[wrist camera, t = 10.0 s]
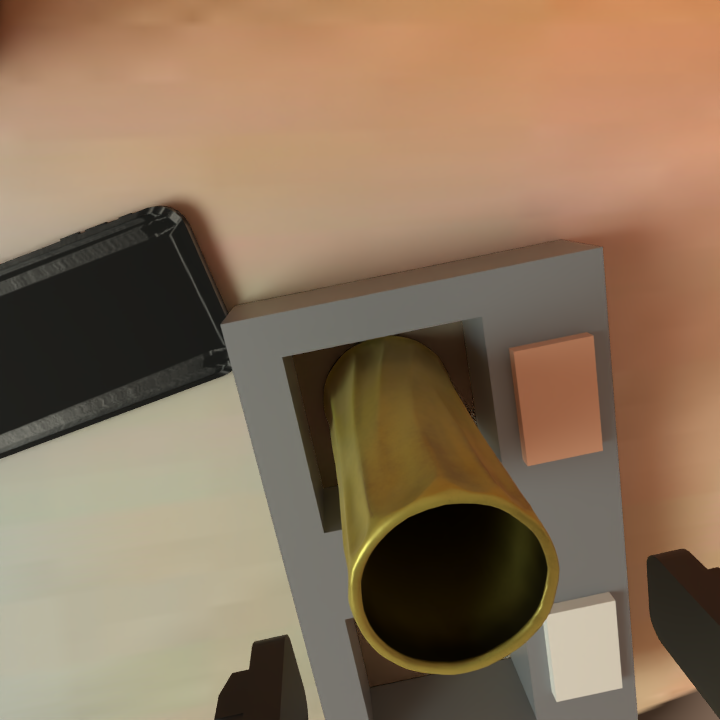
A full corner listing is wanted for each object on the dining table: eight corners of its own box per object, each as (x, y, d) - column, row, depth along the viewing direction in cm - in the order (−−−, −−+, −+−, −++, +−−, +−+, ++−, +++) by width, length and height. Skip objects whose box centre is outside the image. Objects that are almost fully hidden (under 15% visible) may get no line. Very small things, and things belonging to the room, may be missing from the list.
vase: (476, 386, 28) (628, 566, 14) (395, 479, 29) (464, 729, 15) (379, 308, 27) (444, 424, 13) (297, 408, 28) (277, 613, 14)
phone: (247, 366, 26) (-59, 481, 27) (250, 360, 27) (-44, 470, 28) (172, 195, 24) (-160, 322, 25) (178, 195, 25) (-140, 317, 26)
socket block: (234, 305, 26) (217, 327, 22) (561, 239, 26) (609, 248, 22) (340, 719, 33) (344, 801, 29) (601, 664, 33) (644, 736, 29)
